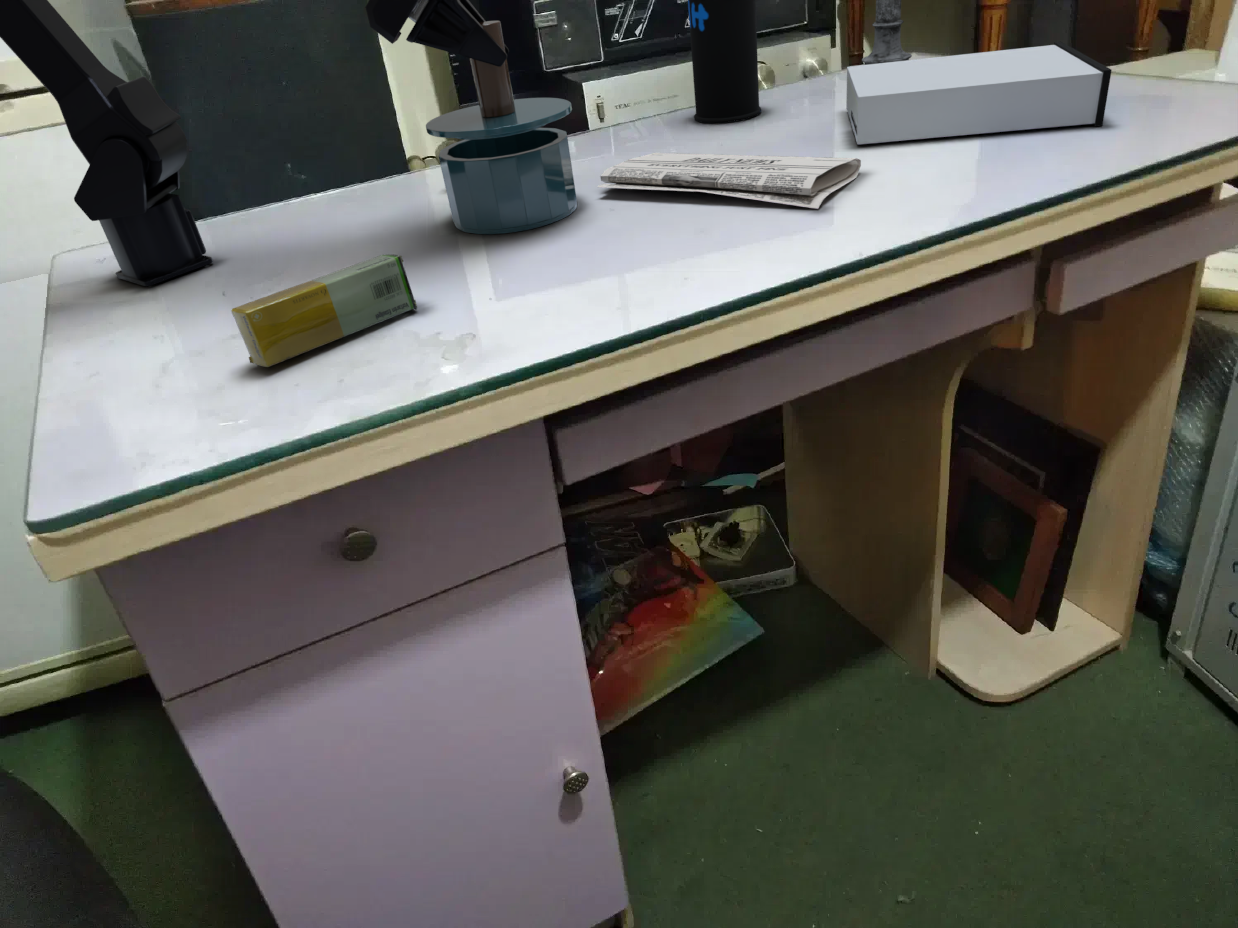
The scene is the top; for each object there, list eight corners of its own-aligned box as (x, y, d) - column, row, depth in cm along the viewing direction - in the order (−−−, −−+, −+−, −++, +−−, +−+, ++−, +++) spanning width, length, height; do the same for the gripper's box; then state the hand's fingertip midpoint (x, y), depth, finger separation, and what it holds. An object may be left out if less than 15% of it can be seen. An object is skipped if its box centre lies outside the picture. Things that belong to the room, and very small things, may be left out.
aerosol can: (761, 105, 109) (755, -81, 99) (761, 119, 103) (754, -79, 92) (696, 112, 111) (683, -71, 100) (691, 126, 104) (677, -68, 94)
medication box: (400, 304, 65) (384, 252, 63) (420, 308, 63) (404, 254, 61) (249, 364, 58) (227, 306, 56) (266, 369, 56) (243, 311, 55)
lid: (490, 150, 68) (468, 36, 64) (400, 140, 76) (375, 38, 71) (602, 113, 75) (589, 8, 71) (509, 108, 83) (492, 13, 79)
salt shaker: (902, 92, 106) (907, -20, 99) (854, 94, 108) (856, -15, 102) (916, 82, 110) (921, -26, 103) (869, 84, 112) (872, -22, 106)
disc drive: (1103, 126, 82) (1113, 68, 80) (857, 147, 87) (858, 94, 84) (1055, 90, 97) (1061, 41, 94) (846, 110, 101) (846, 64, 98)
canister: (515, 240, 75) (501, 164, 71) (429, 227, 82) (412, 157, 78) (602, 200, 82) (592, 129, 79) (516, 191, 89) (504, 126, 85)
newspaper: (590, 198, 83) (588, 170, 82) (661, 175, 92) (660, 150, 90) (810, 212, 71) (811, 180, 69) (869, 185, 79) (870, 156, 78)
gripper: (367, -194, 56) (564, -22, 62) (407, -168, 72) (561, -34, 77) (285, -36, 60) (476, 110, 66) (340, -45, 76) (491, 74, 82)
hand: (505, 59), depth 73 cm, fingers closed on lid, 3 cm apart
